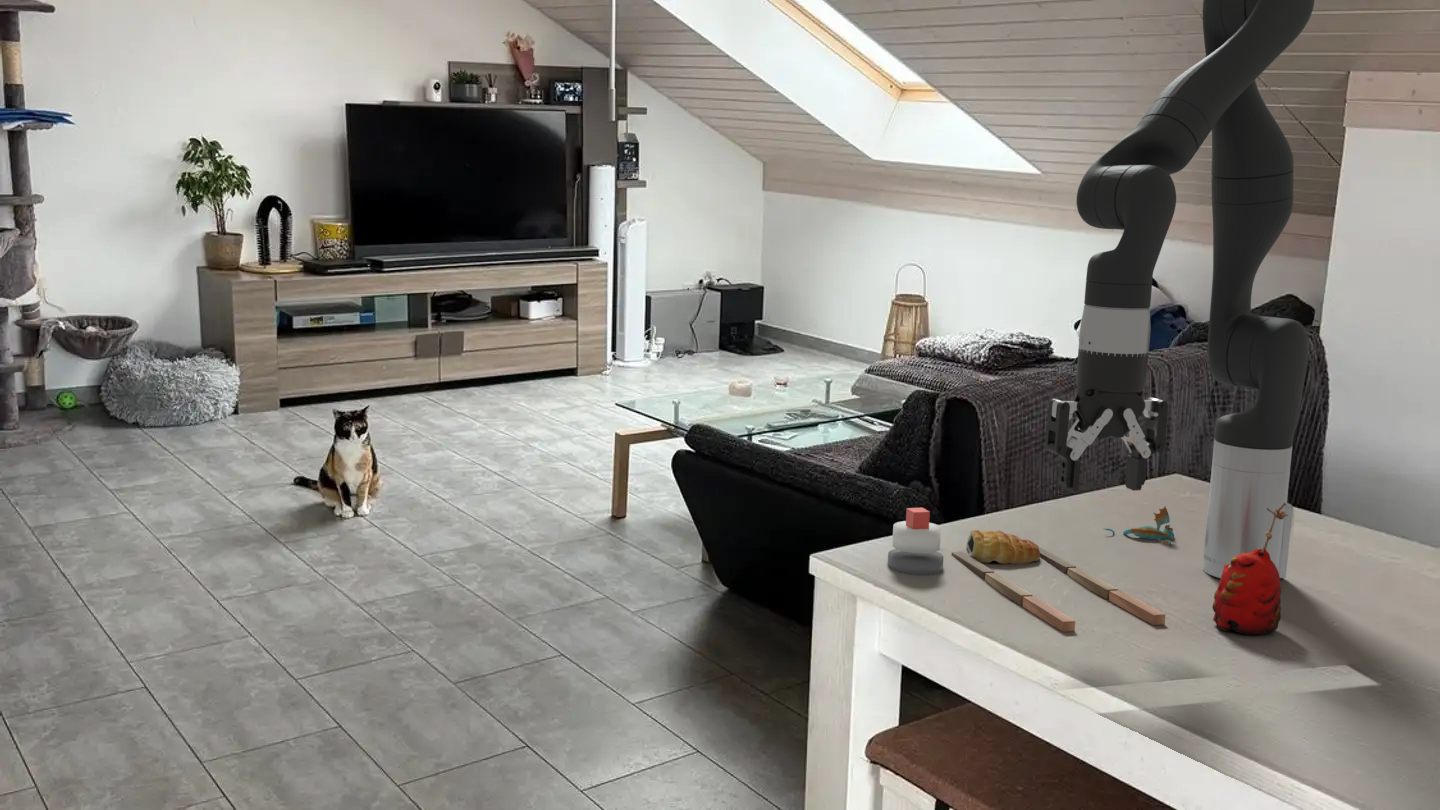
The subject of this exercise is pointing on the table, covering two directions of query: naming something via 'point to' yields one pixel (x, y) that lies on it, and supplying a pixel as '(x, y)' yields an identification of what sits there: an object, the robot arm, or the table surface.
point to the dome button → (916, 533)
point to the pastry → (1001, 548)
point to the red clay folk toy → (1250, 591)
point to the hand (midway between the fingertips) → (1101, 490)
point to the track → (1050, 612)
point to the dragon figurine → (1154, 529)
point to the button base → (915, 562)
